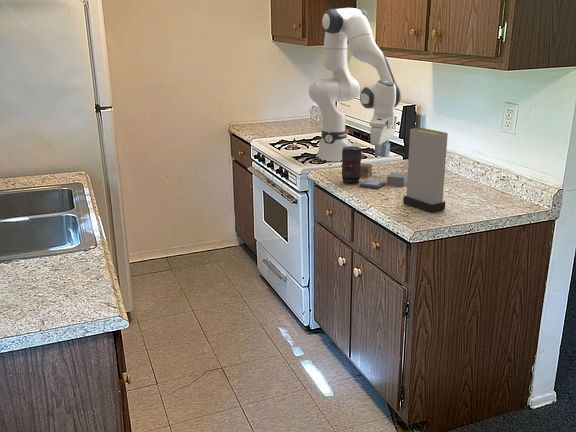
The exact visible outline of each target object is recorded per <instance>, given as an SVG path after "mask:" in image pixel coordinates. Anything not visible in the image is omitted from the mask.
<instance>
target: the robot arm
mask: <svg viewBox="0 0 576 432" xmlns="http://www.w3.org/2000/svg"><path fill="white" fill-rule="evenodd" d="M321 26H322V29H323V30H324V31H325V32H324V37H323V38H324V39H323V66H324V67H325V68H326V69H327V70H329V71H331V72H332V75H333V78H320V79H317V80H314V81H312V82H311V83H310V85H309V87H308V96H309V98H310V99H311V100H312V101H313V102H314V103H315V104H316V105H317V106H318V108H319V110H320V113H321V118H322V130H321V139H320V140H319V143H318V153H316V156H315V157H316V158H318V157H319V158H318V159H319V160H320V159H321V161H324V160H326V161H325V162H342V161H341V160H342V150H343V147H346V146H353V143H352V142H351V141H350V140H349V139H348V134H349V129H346V114H345V113H344V111H343V110H341V109H339V108H337V106H336V102H337V103H338V102H348V101H352V100H355V99H357V98H358V97H359V102H360V104H361V106H363V107H364V108H365V109H369V110H373V109H374V110H373V116H372V117H371V120H370V122H369V127H370V133H369V134H370V136H369V137H370V145H372V146H375V145H376V147H377V153H382V147H381V146H382V143H389V142H390V140H391V139H392V138H393V137H394V136H395V120H396V119H395V118H396V111H395V108H396V107H397V106H398V105H399V103H400V101H401V100H402V92H401V90H400V87H399V86H398V84H397V83H396V79H395V77H394V75H393V73H392V70H391V68H390V64H389V61H388V59H387V56H386V55H385V56H384V54H385V53H384V51H383V50H381V49H380V48H379V46H378V45H377V43H376V41H375V38H374V35H373V31H372V28H371V24H370V16H369V13H368V11H367V10H365V9H363V8H360V7H357V8H354V7H342V8H331V9H327V10H325V11H324V13H323V14H322V18H321ZM348 48H349V52H350V54H351V56H352V57H353V58H355V60H358V61H360V62H363V63H364V64H365V63H366V64H368V65H371V66H372V67H373V68H374V69H375V70H376V72H377V73H378V76H379V77H378V78H379V80H377V81H376V82H375V83H373V84H372V85H369V86H366V87H363V89H362V90H361V87H360V83H359V81H358V80H357V79H356V78H354V76H353V75H352V74H351V71H350V70H349V66H348V65H349V64H348ZM382 51H383V52H382ZM383 53H384V54H383Z"/></svg>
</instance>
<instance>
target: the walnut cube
mask: <svg viewBox="0 0 576 432" xmlns="http://www.w3.org/2000/svg"><path fill="white" fill-rule="evenodd" d="M360 170H361V173H360V178H367V179H368V178H370V177H371V176H372V175H373V164H371V163H361V169H360Z"/></svg>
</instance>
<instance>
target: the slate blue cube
mask: <svg viewBox="0 0 576 432" xmlns="http://www.w3.org/2000/svg"><path fill="white" fill-rule="evenodd" d="M381 147H382V153H377V147H376V145H374V156H375V157H381V158H386V157H388V156H390V151H391V150H390V149H391V143H389V142H388V143H382V146H381Z"/></svg>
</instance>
